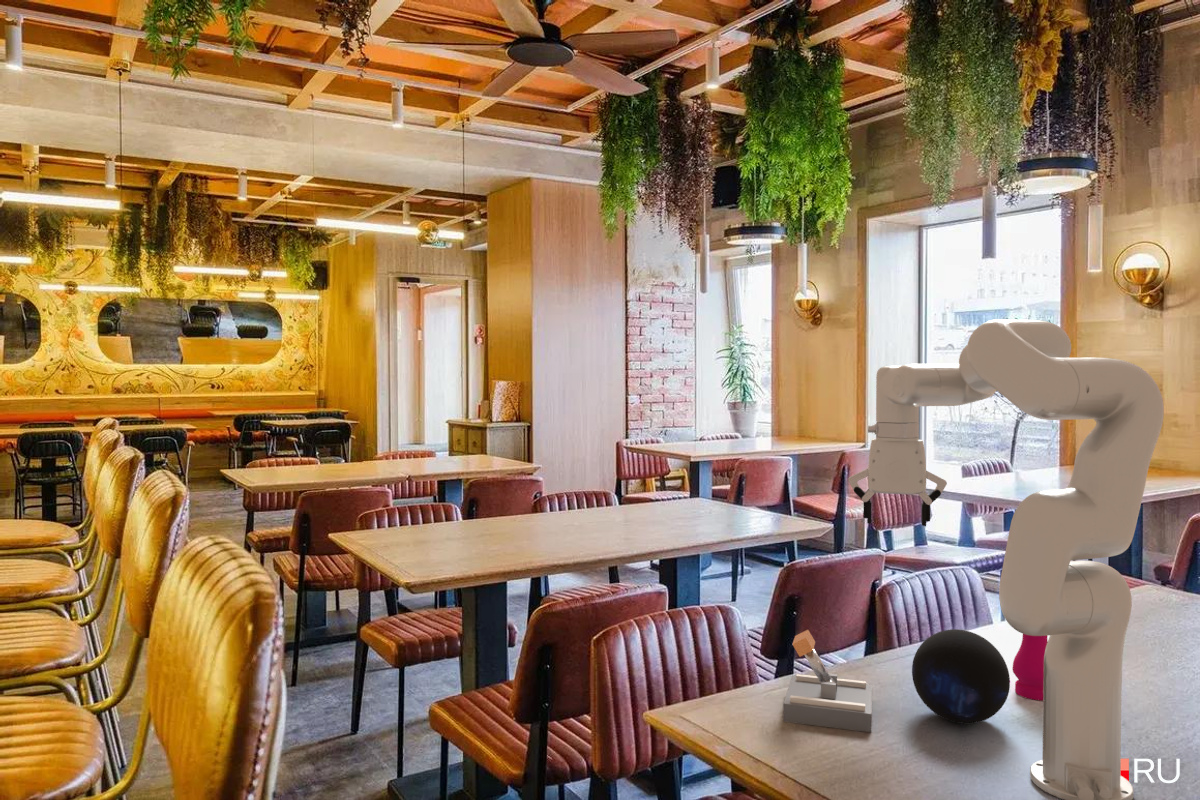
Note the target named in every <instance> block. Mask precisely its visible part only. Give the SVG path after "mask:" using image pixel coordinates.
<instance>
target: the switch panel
mask: <svg viewBox="0 0 1200 800" xmlns="http://www.w3.org/2000/svg"><path fill="white" fill-rule="evenodd" d="M829 675H830V677H831V678H833V679H834V680H835V682H836V683H830V682H820V681H819V679H818V677H817V676H816V675H809V674H800V673H797V674H796V675H795V676H794V675H791V677H790V681H789V684H788V687H787V689H786V690H787V691H786V695H785V697H784V701H783V705H782V706H783V708H782V709H783V713H782V714H783V716H782V717H783V718H782V719H783V720H782V722H786V723H794V724H801V725H802V724H803V725H808V726H809V725H810V726H816V727H817V726H818V727H825V728H832V729H833V728H834V729H842V730H849V731H857V732H867V733H872V723H873V722H872V721H873V718H872V717H873V714H872V713H873V684H869V683H867V681H865V680H858V679H857V680H855V679H848V678H847V679H846V678H838V673H829Z"/></svg>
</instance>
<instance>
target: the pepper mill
mask: <svg viewBox="0 0 1200 800" xmlns="http://www.w3.org/2000/svg"><path fill="white" fill-rule="evenodd" d="M1048 636H1049V635H1046V636H1031V635H1026V634H1023V633H1022V639H1021V643H1020V647H1019V648H1018V651H1017V652H1016V655H1015V656H1014V658H1013V662H1012V672H1013V675H1015V677H1016V678H1017V680H1016V681H1015V684H1014V685H1015V686H1014V691H1015V694H1017V695H1018V696H1019V697H1022V698H1025V699H1028V700H1033V701H1042V702H1043V678H1044V655H1045V649H1046V645H1047V642H1048Z"/></svg>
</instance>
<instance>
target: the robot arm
mask: <svg viewBox="0 0 1200 800" xmlns="http://www.w3.org/2000/svg"><path fill="white" fill-rule="evenodd" d="M967 341H968V342H967V345H966V346H965V347H964V348H963V349H962V350H961V352H960V354H959V358H958V363H911V364H910V363H908V364H907V363H906V364H903V365H889V366H888V365H886V366H881V367H880V368H879V369H878V370H877V371H876V379H875V380H876V382H875V383H876V384H875V385H876V386H875V387H876V388H875V389H876V390H875V391H876V392H875V423H874V424H872V425H867V433H871V434H873V435H875V438H872V439H871V442H870V446H869V454H868V466H867V467H868V468H866V469H863V470H861V471H858V472H857V473H855V474H852V475H851V476H849V477H848V481H847V482H849V485H850V487H851V488H852V490H853V493H854V494H856V496H857V497H858V498H860V499H861V501H863V519H867V520H866V522H867V523H866V524H870V525H871V523H872V501H871V498H872V497H873V496H874V495H875V494H887V495H889V494H891V495H914V496H915V495H918V496H919V497H920V498H921V499H922V503H921V515H920V516H921V520H920V522H921V526H923V527H927V522H931V505H932V503H933V502H935V501H936V500H937V499H938V498H939V497H941V495H942V493H943V492H944V490H945V488H946V486H947V485H948V484H947V480H945V479H944V478H941V477H940V476H938V475H936V474H935V473H932V472H931V471H929V470H927V462H926V449H925V444H924V440H923V439H920V438H919V437H920V436H919V428H920V426H919V424H920V423H919V421H920V420H919V419H920V414H919V412H920V407H955V406H963V405H966V404H967V405H968V404H971V403H975V402H978V401H982V400H985V399H986V400H987V399H989V398H990V397H992V396H994V394H996V392H998V393H999V394H1001V395H1002V396H1003V397H1004V398H1006V399H1007V400H1008V401H1009V402H1010V403H1012V404H1013V406H1015V407H1017V408H1018V409H1019V410H1021V411H1022V412H1023V413H1025V414H1026V415H1028V416H1030V417H1034V418H1036V419H1039V420H1048V421H1049V420H1050V421H1060V420H1061V421H1062V420H1063V421H1064V420H1065V421H1066V420H1068V421H1070V420H1094V421H1095V426H1094V428H1093V429H1092V430H1091V431H1090V432H1089V433H1088V434H1087V436H1086V437H1084V439H1083V441H1082V443H1081V444H1080V446H1079V448H1078V450H1077V453H1076V454H1075V455H1076V456H1075V458H1074V465H1073V470H1072V474H1071V477H1070V480H1069V483H1068V484H1067V485H1068V486H1066V487H1065V488H1063V489H1062V488H1061V489H1046V490H1041V491H1036V492H1033V493H1031V494H1029V495H1028V496H1026V497H1025V498H1024V499H1023V500H1022V501H1021V502H1020V503H1019V505H1018V506H1017V508H1016V509H1015V511H1014V512H1013V515H1012V519H1011V522H1010V526H1009V531H1008V536H1007V542H1006V547H1005V552H1004V558H1003V564H1002V568H1001V574H1000V580H999V586H998V587H999V588H998V589H999V590H998V600H999V606H1000V609H1001V612H1002V616H1003V618H1004V619H1005V621H1006V622H1007V624H1008V625H1009V626H1010V627H1011V628H1013V630H1015V631H1017V632H1018V633H1021V634H1022V635H1023V634H1026V635H1031V636H1046V635H1048V636H1049V638H1048V639H1047V641H1048V642H1047V645H1046V649H1045V655H1044V678H1043V701H1042V702H1043V703H1042V759H1040V760H1037V761H1036V762H1034V763H1033V764H1031V765H1030V770H1029V775H1030V780H1031V781H1032V783H1034V784H1035V785H1036V786H1037V787H1038V788H1039V789H1040V790H1042V791H1044V792H1046V793H1048V794H1049V795H1051V796H1054V797H1056V798H1058V799H1061V800H1133V799H1134V790H1135V789H1134V787H1133V785H1132V784H1131V782H1130V781H1129V780H1128V779H1127V778H1125V777H1124V776H1122V775H1121V768H1122V767H1121V764H1122V763H1121V761H1122V760H1121V759H1122V757H1121V756H1122V752H1121V751H1122V750H1121V749H1122V699H1123V698H1122V695H1123V694H1122V690H1123V659H1124V658H1123V656H1124V647H1125V639H1126V634H1127V630H1128V627H1129V622H1130V618H1131V612H1132V605H1133V600H1132V599H1133V598H1132V593H1131V589H1130V586H1129V584H1128V582H1127V580H1126V579H1125V577H1123V575H1122V574H1121V573H1120V572H1119V571H1118V570H1116V569H1115V568H1113V566H1110V565H1108V564H1107V563H1103V562H1100V561H1093V559H1103V558H1104V559H1105V558H1110V557H1115V556H1118V555H1121V554H1123V553H1124V552H1125V551H1127V550H1128V549H1129V547H1130V545H1131V544H1132V542H1133V538H1134V535H1135V531H1136V527H1137V524H1138V523H1137V522H1138V517H1139V514H1140V509H1141V506H1142V505H1141V504H1142V501H1143V496H1144V492H1145V488H1146V482H1147V477H1148V471H1149V469H1150V464H1151V460H1152V457H1153V454H1154V451H1155V448H1156V446H1157V443H1158V440H1159V437H1160V433H1161V431H1162V428H1163V423H1164V415H1165V410H1164V409H1165V408H1164V399H1163V395H1162V393H1161V391H1160V388H1159V385H1158V384H1157V382H1156V381H1155V379H1154V378H1153V377H1152V376H1151V375H1150V374H1149V373H1148V372H1147V371H1146V370H1145V369H1144V368H1142V367H1140V366H1139V365H1137V364H1134V363H1132V362H1129V361H1127V360H1123V359H1118V358H1110V357H1109V358H1108V357H1090V356H1089V357H1087V356H1086V357H1070V355H1071V353H1072V343H1071V338H1069V335H1068V334H1067V332H1066V331H1065V330H1064V328H1062V327H1060V326H1058V325H1057V324H1055V323H1053V322H1049V321H1045V320H1040V319H1039V320H1037V319H1012V318H1011V319H1010V318H1009V319H1007V318H1002V319H1001V318H1000V319H999V318H998V319H992V320H988V321H986V322H983V323H982V324H981V325H980V324H979V326H978V327H976V328H975V329H974V330H973V332H972V333H971V334H970V337H969V338H968V340H967ZM864 478H867V487H868V489H867V490H866V491H864V490H863V489H862V487H860V486H859V483H858V482H859V481H860V480H863V479H864ZM927 480H929V481H931V482H933V483H935V484H936V486H935V489H934V490H932V491H931V492H930V493H929V494H928V493H927V492H926V489H927Z"/></svg>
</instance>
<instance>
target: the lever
mask: <svg viewBox="0 0 1200 800" xmlns="http://www.w3.org/2000/svg"><path fill="white" fill-rule="evenodd" d="M815 645H816V641H815V639H814V637H813V635H812V634H811V632H810V630H809V629H806V630H804V631H802V632H800V633H798V634H796V635H794V638H793V641H792V646H793V648H794V650H795V651H796V653H797V655H798V657H799V658H800V657H803V656H804V657H805V658H806V660H807V662H808V664H809V665H810V667H811V669H812V670H813V673H814V674H815V676H817V677H818V679H819V681H820V682H830V683H836V682H835V680H834V679H833V678H831V677H830V675H829V674H830V673H829V672H828V670H827V668H826V667H825V665H824V663H823V662H822V661H823V660H821V658H820V656H819V655H818V653H817V651H816V650H815Z"/></svg>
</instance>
